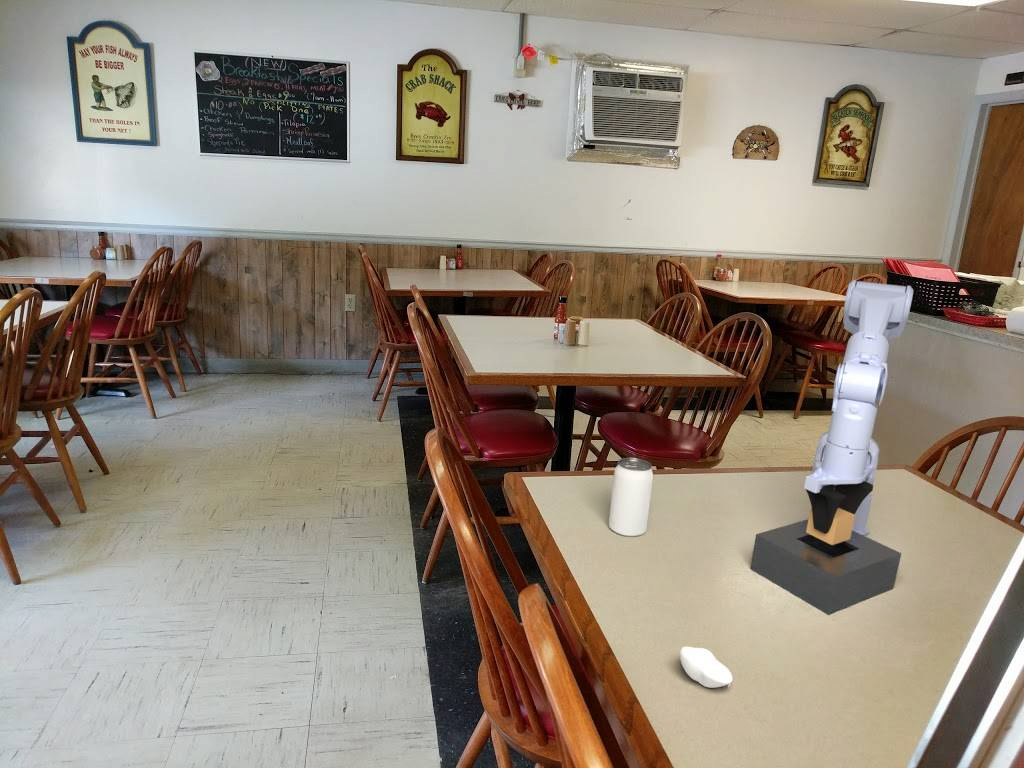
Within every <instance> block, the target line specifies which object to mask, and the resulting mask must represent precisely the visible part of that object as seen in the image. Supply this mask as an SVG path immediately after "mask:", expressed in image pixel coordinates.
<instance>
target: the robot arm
mask: <svg viewBox="0 0 1024 768" xmlns="http://www.w3.org/2000/svg"><path fill="white" fill-rule="evenodd" d="M913 295H914V289H913V288H912V286H911V285H907V286H906V285H905V286H904V285H897V284H886V283H878V282H868V281H861V280H859V281H857V279H852V280H851V281H850V282H849V283H848V286H847V289H846V296H845V300H844V307H843V320H842V323H843V324H844V325H843V329H844V330H846V332H849V333H850V334H852V335H851V337H849V338H848V341H847V343H846V348H845V349H846V350H845V353H844V357H843V361H842V364H841V363H839V365H838V367H837V370H836V375H835V378H834V384H833V390H832V392H833V394H832V395H833V396H832V399H833V400H832V406H831V412H832V413H831V418H830V421H829V422H830V424H829V428H828V431H825V432H823V433H822V434H821V435H820V436H819V440H818V444H817V447H816V450H815V454H814V458H813V465H812V471H811V473H812V474H810V475H806V476H805V480H804V481H805V482H804V487H803V489H804V490H805V492H806V494H807V497H808V498H809V502H810V506H811V507H810V508H812V514H813V525H814V529H816V530H818V531H820V532H822V533H824V534H826V533H828V532H829V530H830V528H831V526H832V523H833V519H834V516H835V513H836V511H837V509H838V508H840V509H843V510H845V511H847V512H850V513H852V514H854V515H855V518H854V523H853V528H852V530H853V531H855V532H857V533H859V534H861V535H863V536H865V535H869V534H870V533H871V531H870V530H869V529H867V528H866V527H867V522H868V519H869V513H870V507H871V504H872V493H871V492H873V490H874V481H875V477H876V472H877V468H878V462H879V453H880V447H879V444H878V443H877V441H876V440H874V439H873V437H872V435H873V431H874V426H875V421H876V417H877V413H878V408H879V407H880V406H881V404H882V402H883V400H884V396H885V392H886V387H887V381H888V378H889V373H888V372H889V371H888V363H887V361H888V356H889V351H890V350H889V349H890V343H889V342H888V341H889V340H890V339H894V338H898V337H901V335H902V332H904V330H905V327H906V322H908V318H909V314H910V309H911V306H912V302H913ZM876 400H878V405H877V403H876Z"/></svg>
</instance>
